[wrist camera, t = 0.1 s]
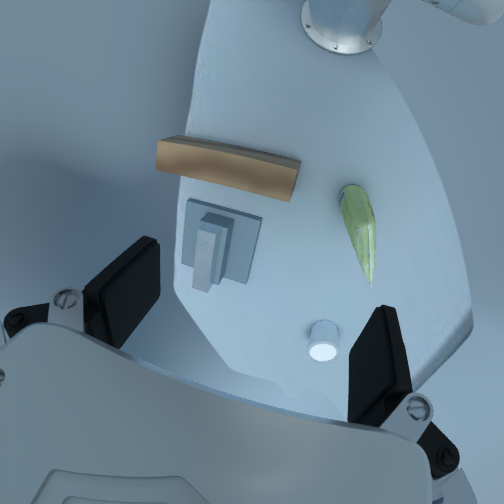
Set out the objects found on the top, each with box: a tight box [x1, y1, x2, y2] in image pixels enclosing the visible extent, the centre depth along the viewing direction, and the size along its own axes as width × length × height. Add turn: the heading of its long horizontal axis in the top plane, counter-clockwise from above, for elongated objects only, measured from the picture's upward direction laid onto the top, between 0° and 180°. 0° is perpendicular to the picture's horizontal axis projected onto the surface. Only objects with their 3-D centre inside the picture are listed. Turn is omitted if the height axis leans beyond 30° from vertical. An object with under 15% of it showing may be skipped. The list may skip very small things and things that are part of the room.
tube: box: [339, 185, 376, 286], centre depth 36 cm, size 6×5×20 cm
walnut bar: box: [156, 135, 301, 202], centre depth 43 cm, size 5×22×7 cm, turn 78°
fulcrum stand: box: [181, 198, 262, 293], centre depth 50 cm, size 14×14×8 cm
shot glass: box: [306, 320, 340, 363], centre depth 56 cm, size 7×7×7 cm
